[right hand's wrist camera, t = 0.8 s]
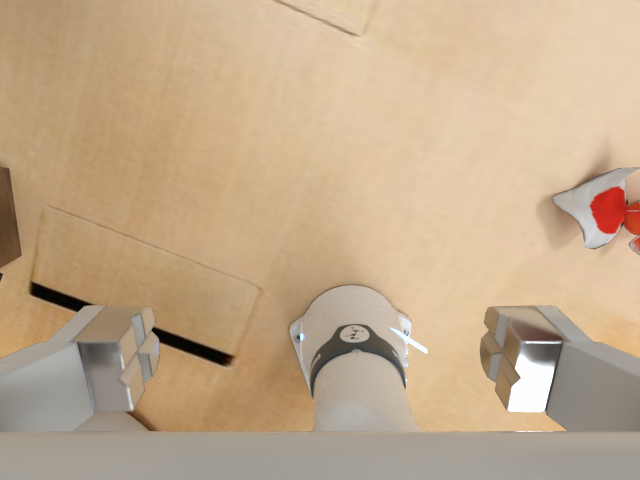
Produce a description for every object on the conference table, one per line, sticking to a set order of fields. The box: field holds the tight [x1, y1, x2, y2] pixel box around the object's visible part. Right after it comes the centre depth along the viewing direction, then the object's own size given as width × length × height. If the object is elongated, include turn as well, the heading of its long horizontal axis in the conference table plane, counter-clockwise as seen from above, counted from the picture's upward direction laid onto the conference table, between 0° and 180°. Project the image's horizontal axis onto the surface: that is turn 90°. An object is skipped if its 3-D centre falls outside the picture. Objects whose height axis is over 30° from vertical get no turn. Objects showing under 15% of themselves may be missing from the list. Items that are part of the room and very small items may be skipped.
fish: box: [552, 167, 640, 255], centre depth 54 cm, size 11×16×10 cm
